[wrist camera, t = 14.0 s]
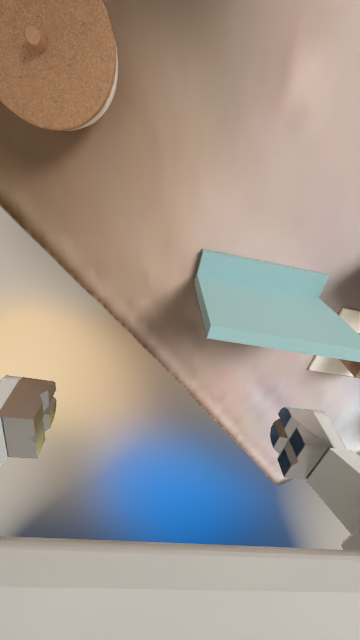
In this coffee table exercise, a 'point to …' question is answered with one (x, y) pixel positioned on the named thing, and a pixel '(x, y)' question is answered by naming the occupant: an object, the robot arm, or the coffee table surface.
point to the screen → (270, 307)
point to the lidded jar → (57, 61)
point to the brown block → (352, 367)
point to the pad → (334, 365)
